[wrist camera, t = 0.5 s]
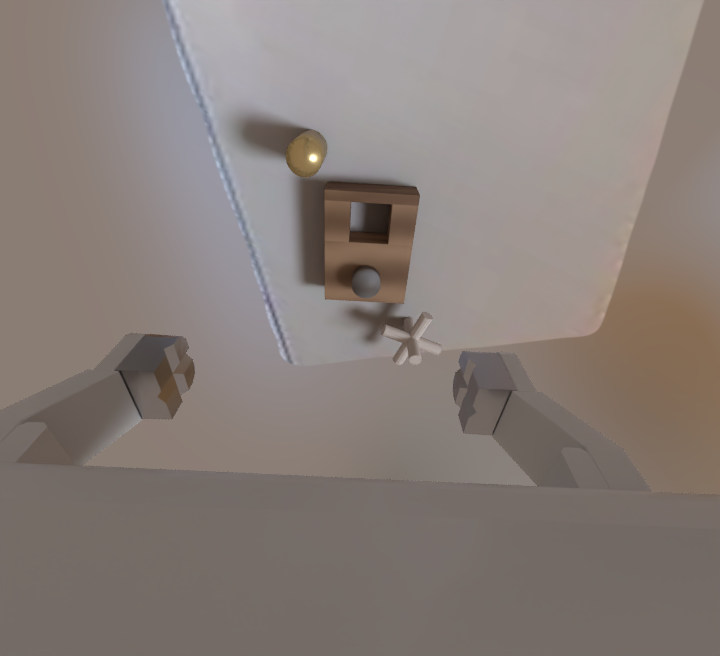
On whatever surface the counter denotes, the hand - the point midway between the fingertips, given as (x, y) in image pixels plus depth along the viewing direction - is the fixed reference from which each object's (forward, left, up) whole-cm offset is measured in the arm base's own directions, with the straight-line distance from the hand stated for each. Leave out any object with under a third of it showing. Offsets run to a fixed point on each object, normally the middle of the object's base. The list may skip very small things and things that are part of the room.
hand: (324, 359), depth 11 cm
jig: (+13, +2, -42) cm, 44 cm away
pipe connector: (+27, +10, -42) cm, 51 cm away
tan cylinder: (+1, -6, -42) cm, 42 cm away
